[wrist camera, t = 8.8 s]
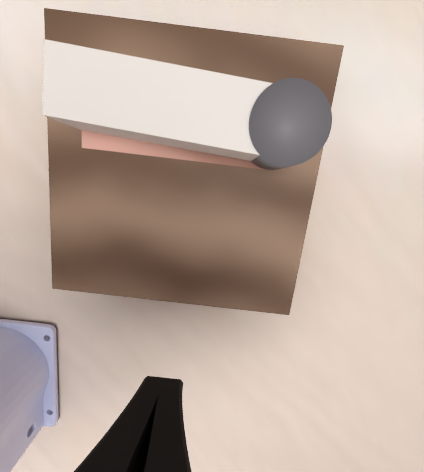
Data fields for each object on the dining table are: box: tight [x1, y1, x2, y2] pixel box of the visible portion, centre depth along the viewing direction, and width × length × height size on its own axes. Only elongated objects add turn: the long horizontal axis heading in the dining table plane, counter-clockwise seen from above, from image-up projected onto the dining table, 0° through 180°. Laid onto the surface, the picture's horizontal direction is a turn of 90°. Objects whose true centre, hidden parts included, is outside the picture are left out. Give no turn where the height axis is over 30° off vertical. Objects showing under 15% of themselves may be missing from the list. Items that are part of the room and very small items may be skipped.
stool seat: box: [44, 8, 344, 315], centre depth 15 cm, size 16×16×2 cm
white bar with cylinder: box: [42, 39, 332, 170], centre depth 12 cm, size 13×4×3 cm, turn 80°
